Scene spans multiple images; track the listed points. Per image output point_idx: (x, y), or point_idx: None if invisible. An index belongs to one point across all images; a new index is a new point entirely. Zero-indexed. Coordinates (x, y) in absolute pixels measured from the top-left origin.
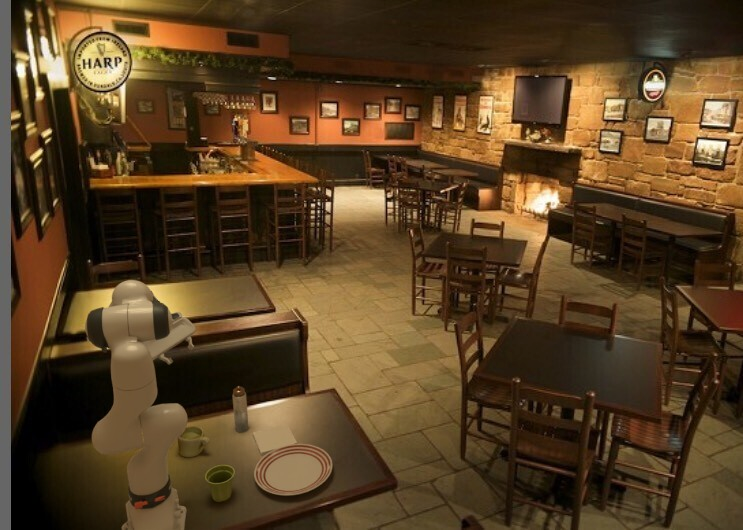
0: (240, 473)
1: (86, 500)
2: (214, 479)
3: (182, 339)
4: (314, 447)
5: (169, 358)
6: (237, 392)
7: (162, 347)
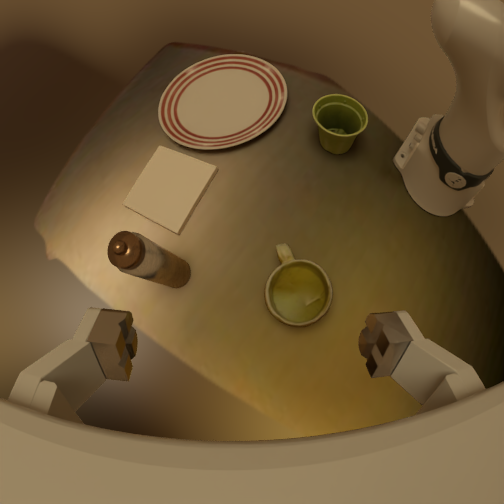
0: (278, 159)
1: (486, 315)
2: (340, 143)
3: (107, 430)
4: (161, 110)
5: (398, 338)
6: (135, 237)
7: (478, 442)
